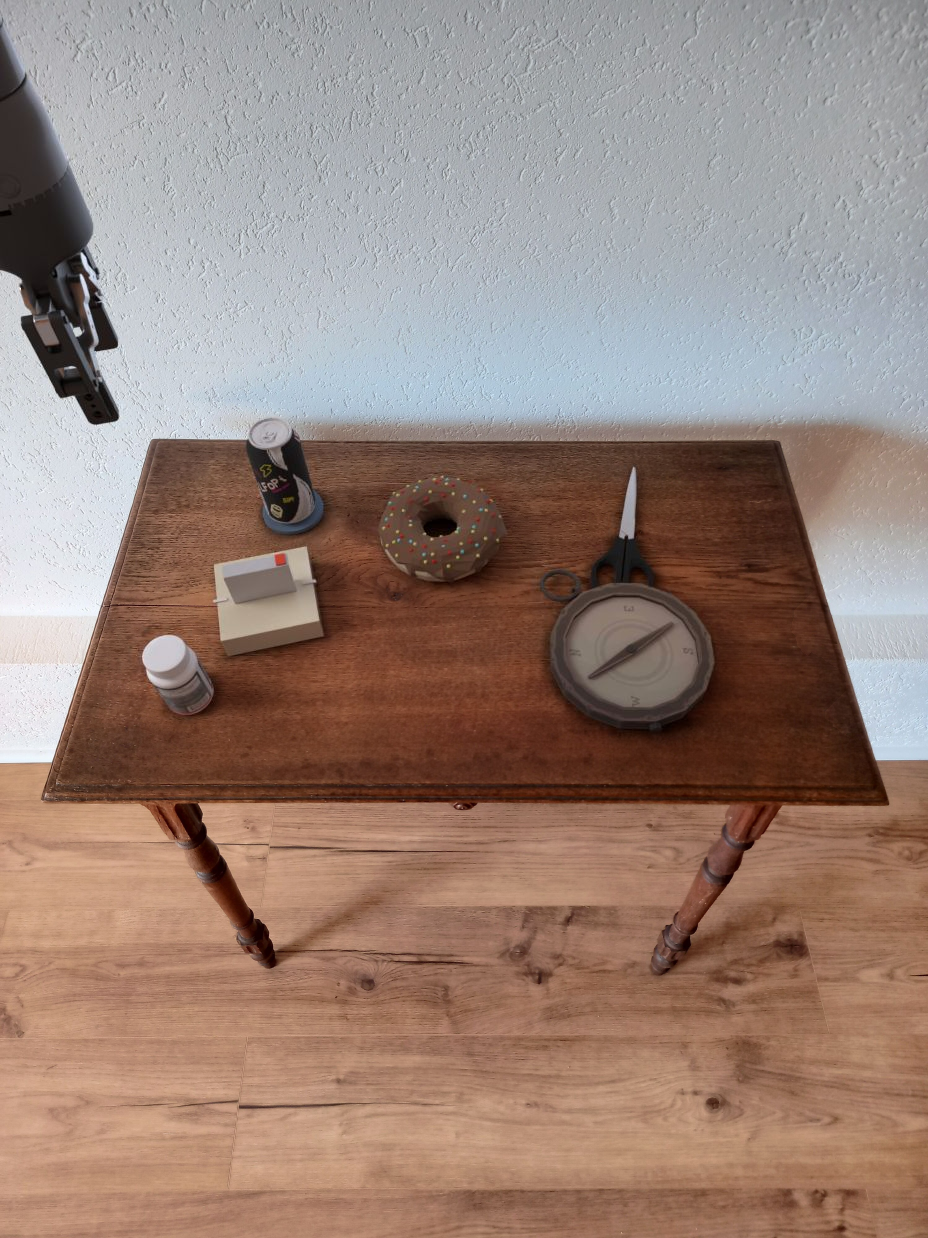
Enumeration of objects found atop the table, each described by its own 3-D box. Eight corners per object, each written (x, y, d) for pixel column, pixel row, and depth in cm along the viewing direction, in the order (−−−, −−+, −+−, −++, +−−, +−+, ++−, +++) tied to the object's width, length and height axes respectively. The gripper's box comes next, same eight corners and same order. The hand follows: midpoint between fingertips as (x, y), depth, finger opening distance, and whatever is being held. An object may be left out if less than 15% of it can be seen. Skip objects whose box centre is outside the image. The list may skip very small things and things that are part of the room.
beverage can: (260, 523, 93) (233, 446, 83) (277, 486, 96) (253, 408, 86) (307, 531, 92) (286, 455, 82) (323, 494, 95) (304, 416, 85)
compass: (731, 727, 78) (736, 719, 76) (564, 745, 77) (565, 736, 76) (679, 559, 89) (683, 548, 87) (532, 574, 88) (533, 563, 86)
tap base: (224, 657, 83) (216, 641, 81) (217, 581, 89) (209, 563, 86) (327, 635, 85) (322, 619, 82) (314, 562, 90) (309, 544, 87)
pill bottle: (171, 675, 82) (143, 630, 75) (218, 674, 82) (193, 630, 75) (162, 716, 80) (132, 675, 73) (210, 716, 80) (184, 674, 73)
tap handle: (234, 604, 83) (222, 576, 79) (233, 591, 84) (220, 564, 80) (297, 591, 84) (288, 563, 80) (295, 579, 85) (286, 551, 81)
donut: (365, 578, 89) (359, 549, 85) (402, 487, 96) (398, 457, 92) (491, 604, 86) (491, 576, 82) (519, 510, 94) (521, 480, 90)
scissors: (602, 466, 97) (587, 602, 86) (602, 461, 96) (588, 598, 85) (658, 473, 96) (651, 611, 86) (660, 467, 95) (652, 606, 85)
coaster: (266, 540, 92) (265, 536, 91) (260, 495, 96) (259, 491, 95) (327, 528, 93) (327, 524, 92) (319, 484, 96) (318, 480, 96)
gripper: (-52, 119, 52) (58, 333, 65) (-80, 243, 44) (52, 456, 58) (69, 104, 53) (153, 318, 66) (61, 223, 45) (158, 437, 59)
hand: (105, 382), depth 62 cm, fingers open, 8 cm apart
